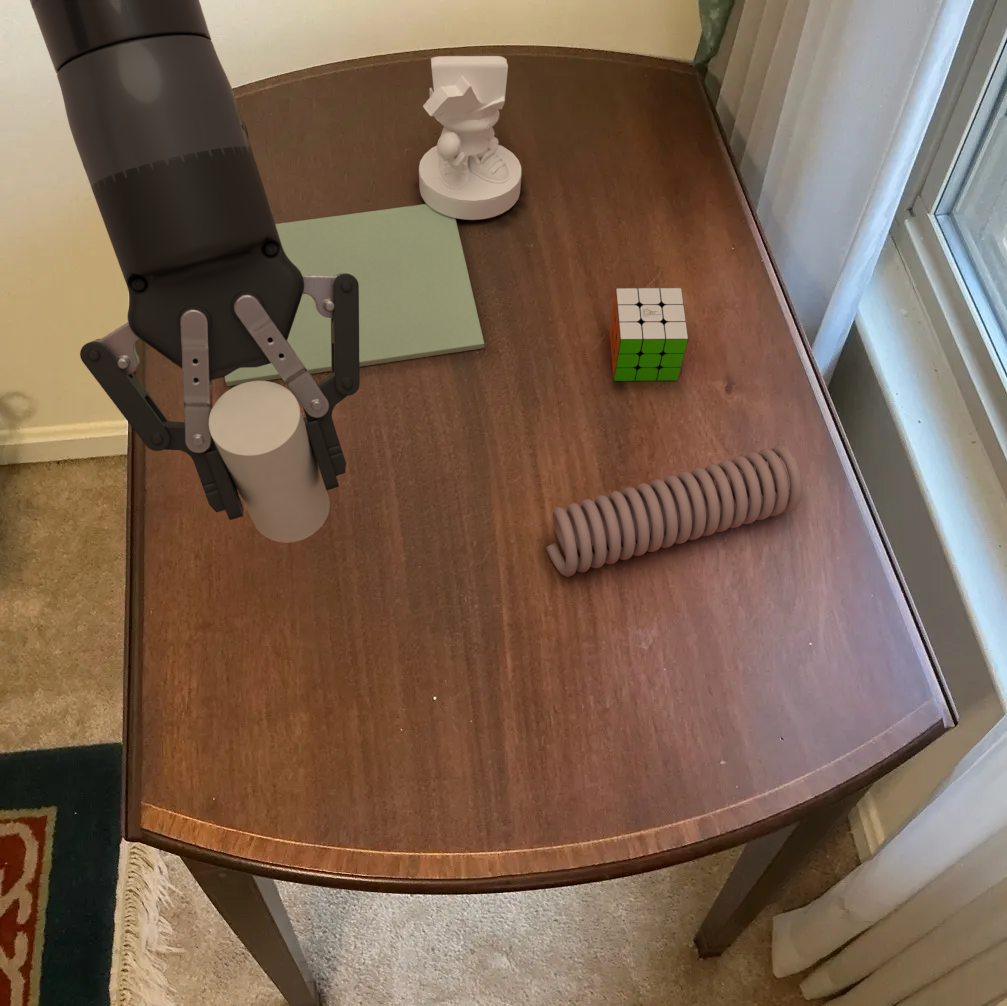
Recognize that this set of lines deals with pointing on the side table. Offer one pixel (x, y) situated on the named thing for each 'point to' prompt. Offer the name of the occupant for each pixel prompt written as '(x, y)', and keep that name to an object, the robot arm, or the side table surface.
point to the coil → (675, 510)
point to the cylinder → (270, 459)
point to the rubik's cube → (648, 334)
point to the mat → (382, 287)
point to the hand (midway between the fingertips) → (284, 498)
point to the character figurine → (468, 140)
